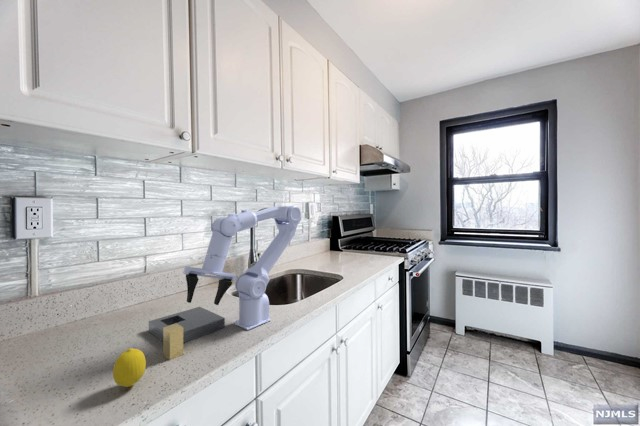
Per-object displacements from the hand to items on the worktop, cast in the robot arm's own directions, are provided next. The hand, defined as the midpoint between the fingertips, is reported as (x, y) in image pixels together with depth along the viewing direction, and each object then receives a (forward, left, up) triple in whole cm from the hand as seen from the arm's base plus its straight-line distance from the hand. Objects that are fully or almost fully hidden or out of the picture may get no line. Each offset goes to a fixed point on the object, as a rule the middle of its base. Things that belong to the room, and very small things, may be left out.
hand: (202, 303), depth 73 cm
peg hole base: (-1, -11, -11) cm, 15 cm away
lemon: (+19, +7, -11) cm, 23 cm away
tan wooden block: (+8, +1, -11) cm, 14 cm away
